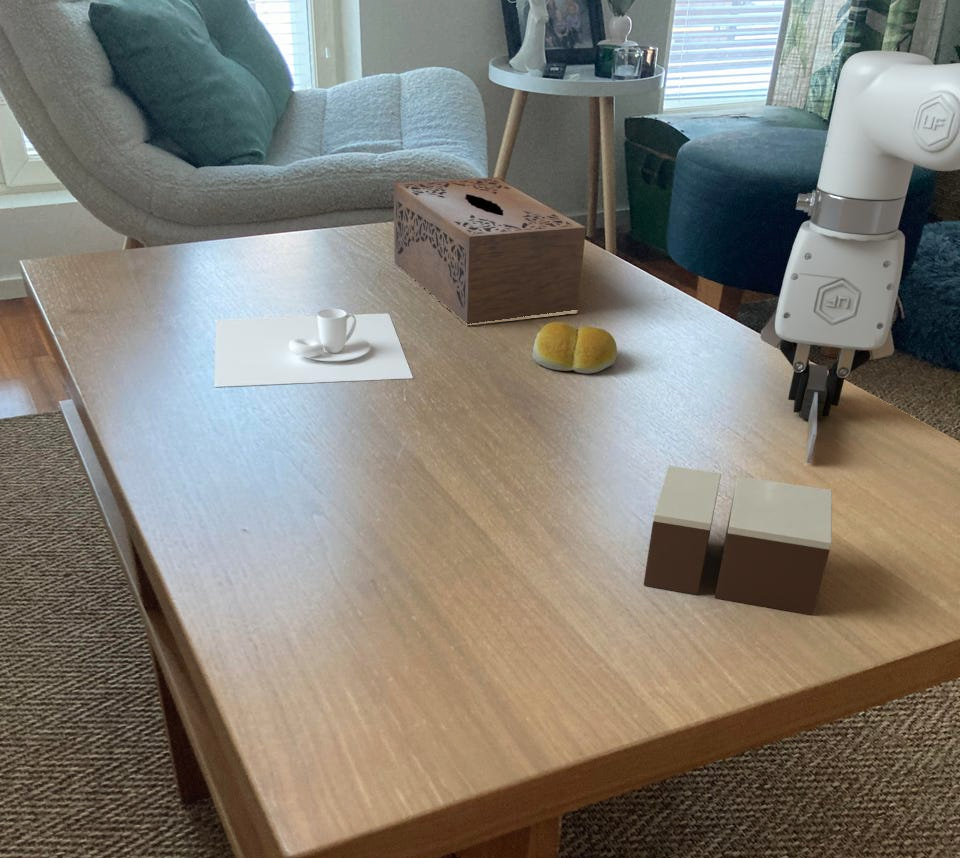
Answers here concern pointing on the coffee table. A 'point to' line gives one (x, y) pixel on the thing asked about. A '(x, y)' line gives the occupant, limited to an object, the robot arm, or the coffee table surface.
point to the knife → (814, 402)
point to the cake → (776, 545)
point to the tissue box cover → (487, 248)
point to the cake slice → (681, 530)
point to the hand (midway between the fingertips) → (811, 407)
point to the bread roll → (574, 348)
